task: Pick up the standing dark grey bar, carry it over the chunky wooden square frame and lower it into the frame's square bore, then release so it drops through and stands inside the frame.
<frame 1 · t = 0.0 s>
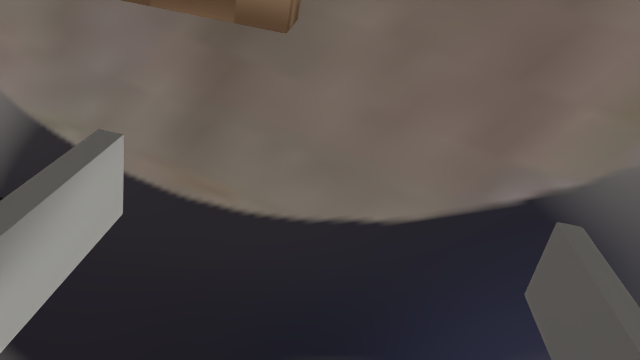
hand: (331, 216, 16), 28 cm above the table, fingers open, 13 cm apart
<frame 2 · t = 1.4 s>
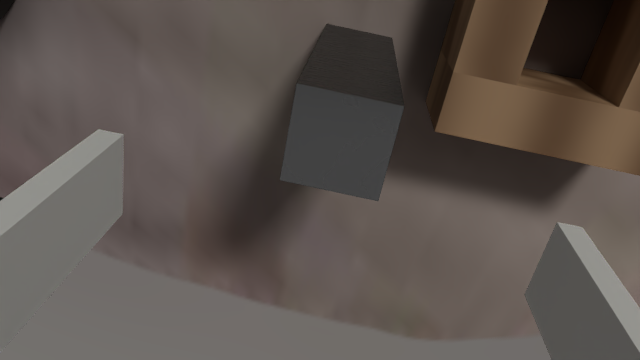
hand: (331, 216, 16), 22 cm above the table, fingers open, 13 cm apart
wooden square frame: (554, 26, 33), on the table
dark grey bar: (352, 63, 35), on the table
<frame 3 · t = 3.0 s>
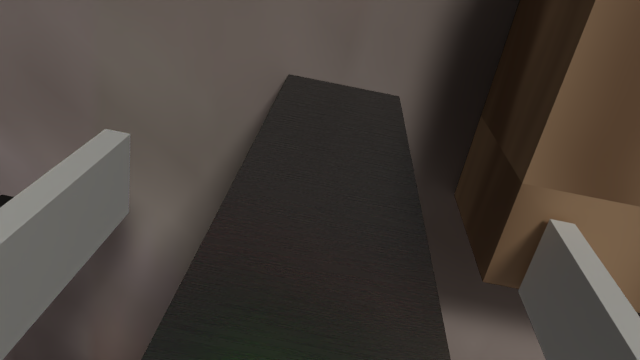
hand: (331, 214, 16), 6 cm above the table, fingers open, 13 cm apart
dark grey bar: (333, 136, 21), on the table
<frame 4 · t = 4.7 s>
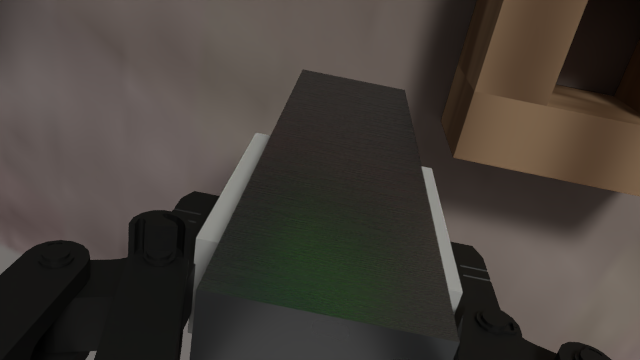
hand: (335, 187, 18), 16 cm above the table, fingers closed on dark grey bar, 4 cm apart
wooden square frame: (585, 37, 30), on the table
dark grey bar: (343, 127, 23), point 10 cm above the table, touching gripper
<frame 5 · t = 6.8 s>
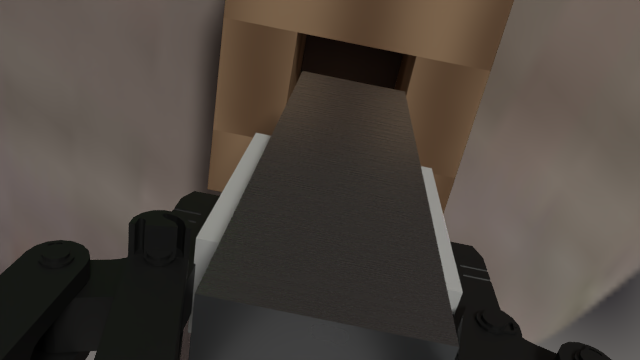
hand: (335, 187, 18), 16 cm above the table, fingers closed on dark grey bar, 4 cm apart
wooden square frame: (349, 72, 32), on the table
dark grey bar: (343, 129, 23), point 10 cm above the table, touching gripper
when the fingers open (8 cm above the table, at t = 9.1 s): dark grey bar drops 2 cm, resting in wooden square frame.
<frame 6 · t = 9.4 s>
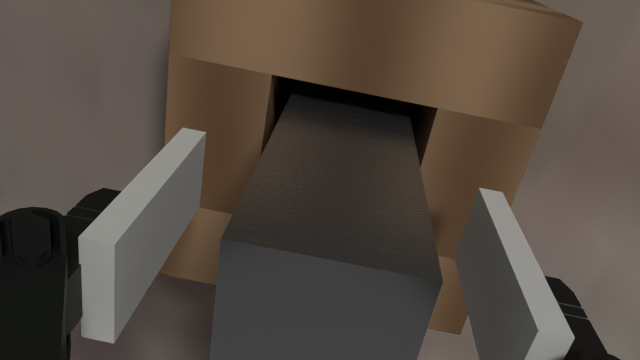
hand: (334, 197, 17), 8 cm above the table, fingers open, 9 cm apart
wooden square frame: (345, 114, 25), on the table
dark grey bar: (345, 116, 25), resting in wooden square frame
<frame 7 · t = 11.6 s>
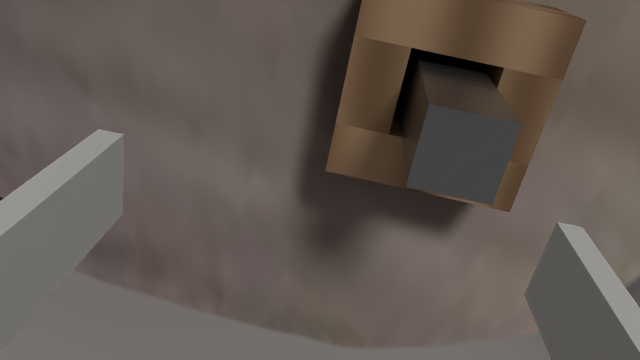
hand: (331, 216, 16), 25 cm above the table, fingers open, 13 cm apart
wooden square frame: (436, 79, 39), on the table
dark grey bar: (435, 80, 39), resting in wooden square frame
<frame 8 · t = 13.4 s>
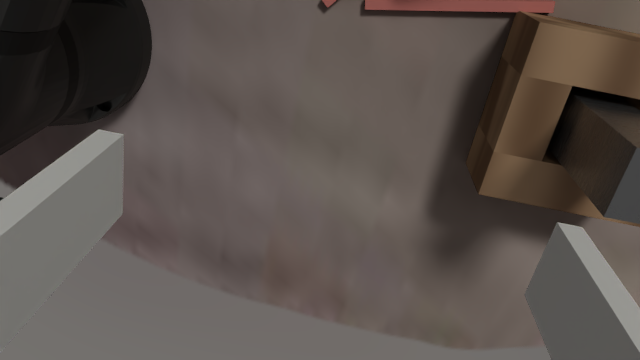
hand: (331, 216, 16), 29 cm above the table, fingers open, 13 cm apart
wooden square frame: (567, 107, 42), on the table
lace: (457, 4, 40), on the table
dark grey bar: (567, 107, 42), resting in wooden square frame
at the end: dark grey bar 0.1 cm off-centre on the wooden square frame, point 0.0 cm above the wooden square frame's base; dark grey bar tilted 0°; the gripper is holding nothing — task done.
